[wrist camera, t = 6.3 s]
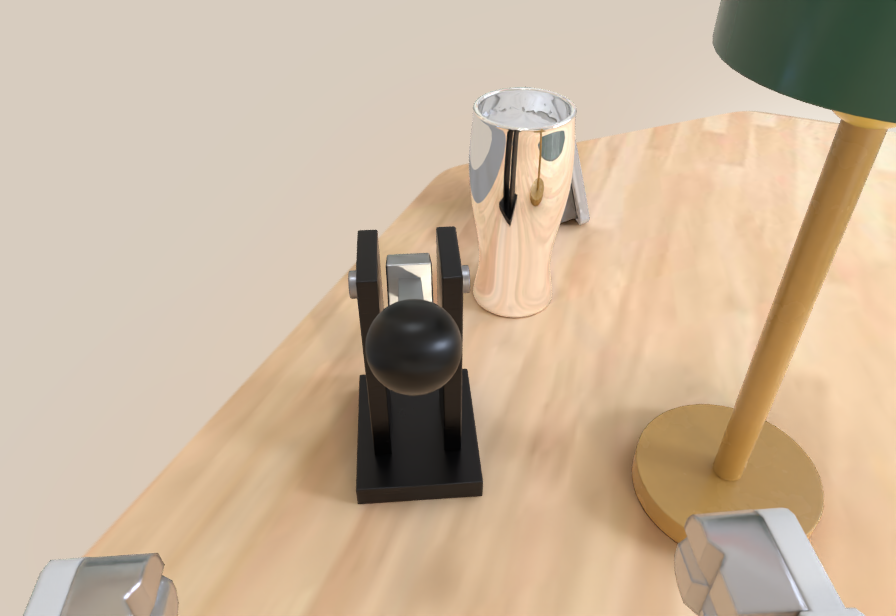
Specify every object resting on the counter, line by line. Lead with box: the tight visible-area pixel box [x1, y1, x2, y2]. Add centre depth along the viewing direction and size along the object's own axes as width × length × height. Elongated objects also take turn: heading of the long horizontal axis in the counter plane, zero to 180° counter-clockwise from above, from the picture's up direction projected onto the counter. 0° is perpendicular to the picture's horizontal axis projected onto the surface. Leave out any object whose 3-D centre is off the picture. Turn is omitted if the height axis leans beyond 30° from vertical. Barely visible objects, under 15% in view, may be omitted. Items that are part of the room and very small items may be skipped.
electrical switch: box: [561, 140, 590, 225], centre depth 61 cm, size 9×5×9 cm, turn 16°
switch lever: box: [365, 253, 462, 396], centre depth 30 cm, size 14×3×3 cm, turn 4°
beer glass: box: [469, 87, 577, 317], centre depth 49 cm, size 7×7×15 cm
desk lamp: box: [632, 0, 896, 543], centre depth 30 cm, size 12×12×32 cm
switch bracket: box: [348, 227, 483, 504], centre depth 39 cm, size 9×7×14 cm
